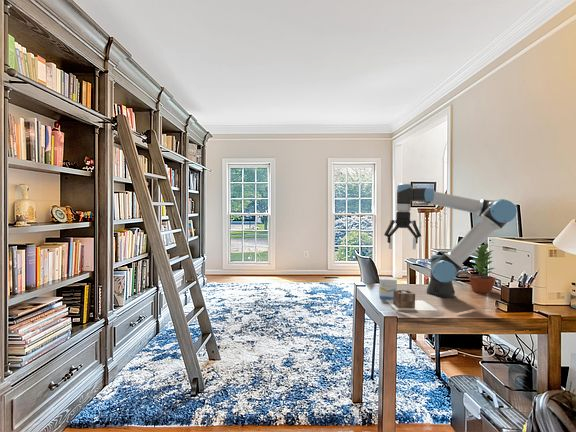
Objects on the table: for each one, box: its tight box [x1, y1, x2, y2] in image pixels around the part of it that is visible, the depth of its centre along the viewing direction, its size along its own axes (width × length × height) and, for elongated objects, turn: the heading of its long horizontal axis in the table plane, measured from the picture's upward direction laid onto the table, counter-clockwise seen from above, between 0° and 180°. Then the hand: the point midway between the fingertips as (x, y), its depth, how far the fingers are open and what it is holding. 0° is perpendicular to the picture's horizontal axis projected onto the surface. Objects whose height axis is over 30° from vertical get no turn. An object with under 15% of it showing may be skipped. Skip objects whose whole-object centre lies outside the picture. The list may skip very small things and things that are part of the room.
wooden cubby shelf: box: [393, 289, 416, 308], centre depth 175 cm, size 8×8×8 cm
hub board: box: [385, 292, 438, 313], centre depth 177 cm, size 20×18×8 cm
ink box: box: [378, 276, 398, 300], centre depth 192 cm, size 9×8×12 cm
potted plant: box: [468, 243, 497, 294], centre depth 217 cm, size 15×15×30 cm
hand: (402, 249), depth 199 cm, fingers open, 13 cm apart
